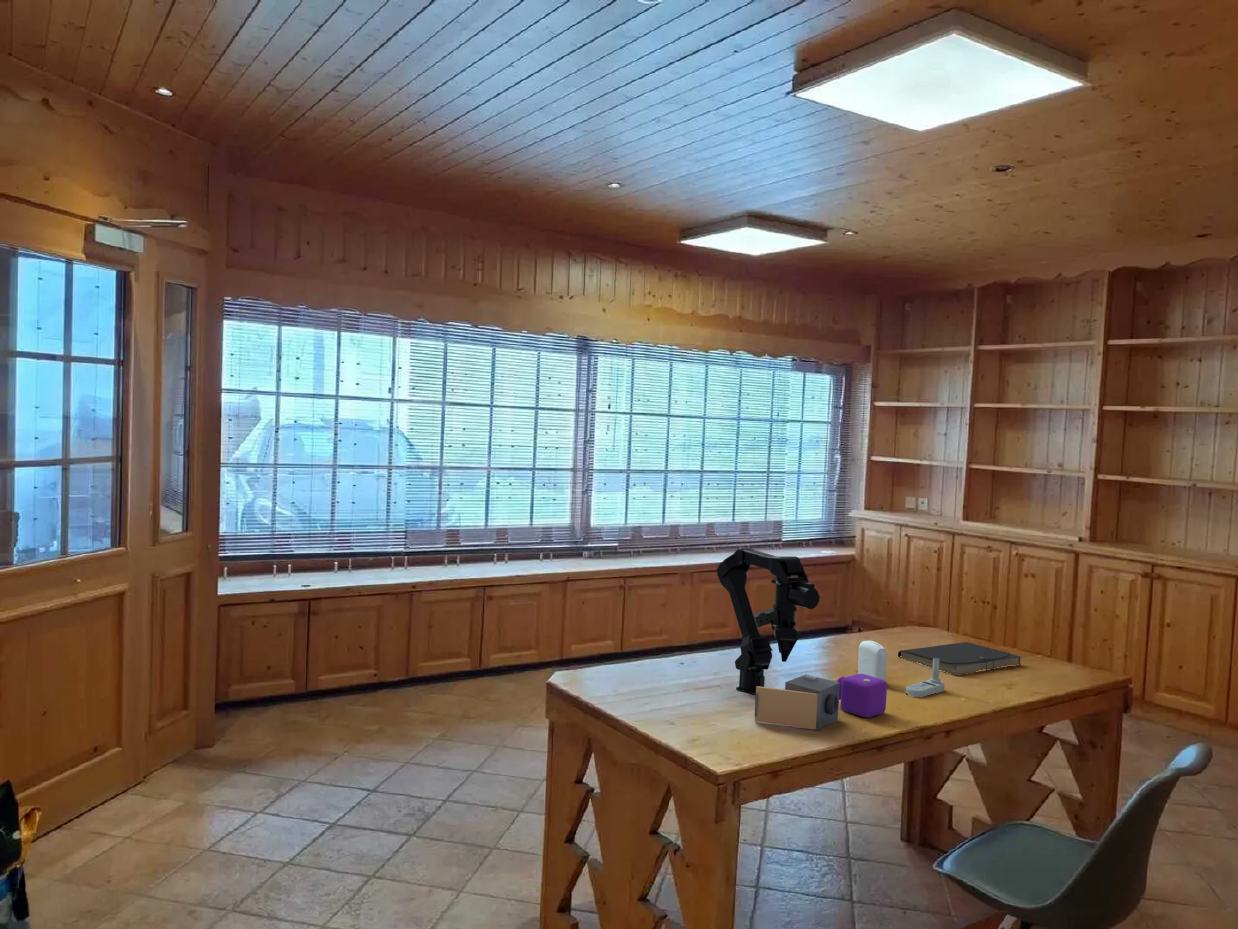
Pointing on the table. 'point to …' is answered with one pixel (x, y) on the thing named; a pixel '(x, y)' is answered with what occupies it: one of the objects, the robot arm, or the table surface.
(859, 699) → the toy camera
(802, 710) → the side door
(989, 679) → the table surface
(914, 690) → the electronic device
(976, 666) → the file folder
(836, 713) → the camera case
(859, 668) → the photo printer
